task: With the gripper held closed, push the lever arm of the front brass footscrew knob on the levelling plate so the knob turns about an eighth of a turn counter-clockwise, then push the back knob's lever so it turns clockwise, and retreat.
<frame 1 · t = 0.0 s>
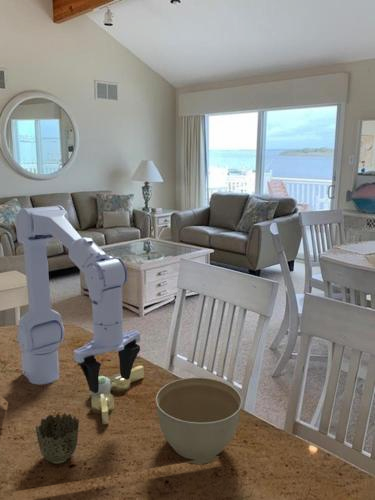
hand: (109, 384, 93), 10 cm above the kitchen counter, tool pointing down, fingers open, 7 cm apart
back knob: (127, 377, 110), point 3 cm above the kitchen counter, hinge at 0.0°
levelling plate: (101, 400, 106), on the kitchen counter
planter bowl: (198, 450, 88), on the kitchen counter
front knob: (103, 406, 98), point 3 cm above the kitchen counter, hinge at 0.0°
cup: (59, 464, 84), on the kitchen counter
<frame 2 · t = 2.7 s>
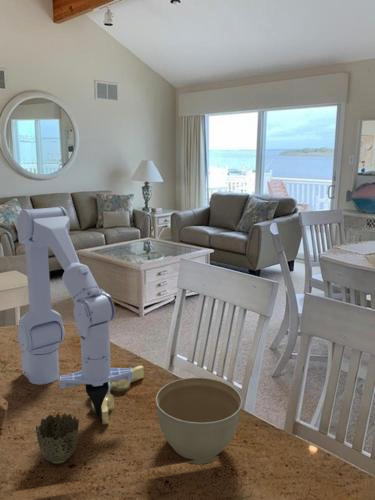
hand: (98, 414, 96), 2 cm above the kitchen counter, tool pointing down, fingers closed, pressing on front knob
front knob: (103, 406, 98), point 3 cm above the kitchen counter, hinge at 0.0°, touching gripper
everything else where it was.
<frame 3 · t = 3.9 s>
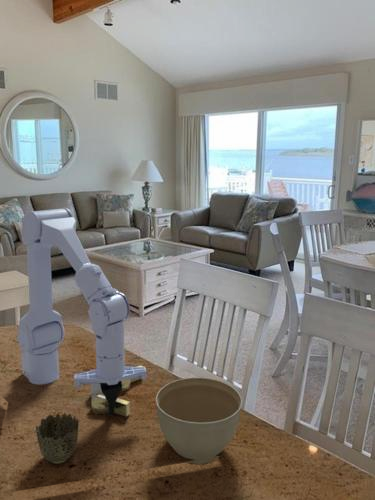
hand: (111, 412, 96), 2 cm above the kitchen counter, tool pointing down, fingers closed, pressing on front knob
front knob: (110, 404, 99), point 3 cm above the kitchen counter, hinge at 46.4°, touching gripper
everything else where it was.
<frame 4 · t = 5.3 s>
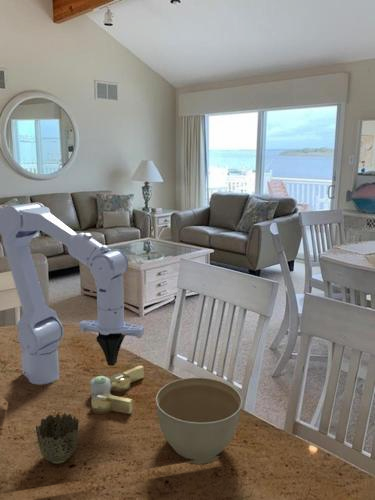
hand: (112, 363, 103), 9 cm above the kitchen counter, tool pointing down, fingers closed
front knob: (111, 403, 99), point 3 cm above the kitchen counter, hinge at 55.7°
everything else where it was.
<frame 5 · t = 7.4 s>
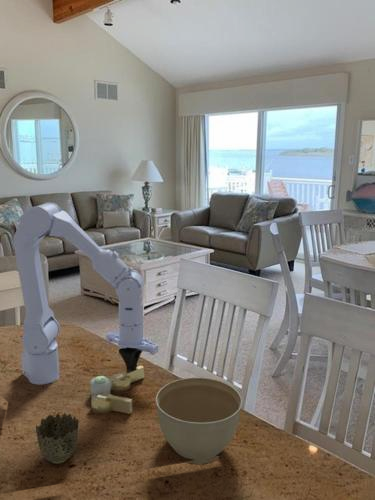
hand: (132, 374, 113), 2 cm above the kitchen counter, tool pointing down, fingers closed, pressing on back knob
back knob: (127, 377, 110), point 3 cm above the kitchen counter, hinge at -1.1°, touching gripper
front knob: (111, 403, 99), point 3 cm above the kitchen counter, hinge at 56.3°
everything else where it was.
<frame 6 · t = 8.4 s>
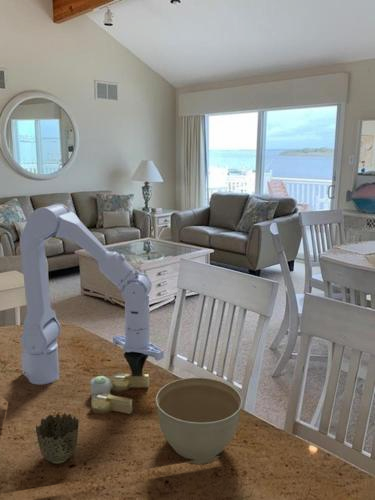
hand: (137, 379, 111), 2 cm above the kitchen counter, tool pointing down, fingers closed, pressing on back knob
back knob: (129, 381, 109), point 3 cm above the kitchen counter, hinge at -45.5°, touching gripper
everything else where it was.
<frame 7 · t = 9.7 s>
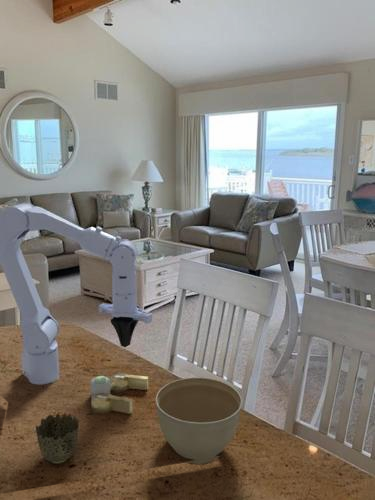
hand: (125, 345, 112), 10 cm above the kitchen counter, tool pointing down, fingers closed
back knob: (128, 381, 109), point 3 cm above the kitchen counter, hinge at -56.0°
everything else where it was.
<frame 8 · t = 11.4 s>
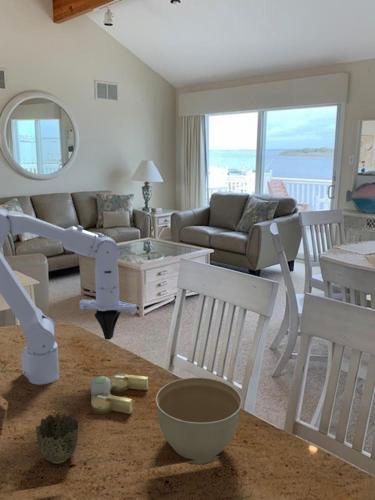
hand: (108, 337, 116), 10 cm above the kitchen counter, tool pointing down, fingers closed
back knob: (128, 381, 108), point 3 cm above the kitchen counter, hinge at -56.8°
everything else where it was.
at the end: front knob at +56° (first picture: +0°); back knob at -57° (first picture: +0°) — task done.
